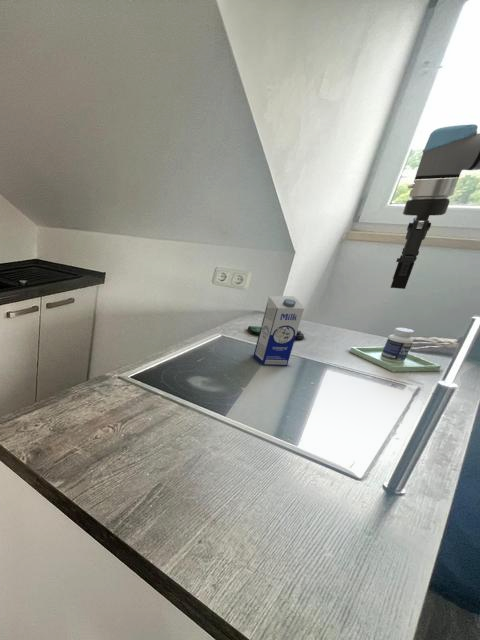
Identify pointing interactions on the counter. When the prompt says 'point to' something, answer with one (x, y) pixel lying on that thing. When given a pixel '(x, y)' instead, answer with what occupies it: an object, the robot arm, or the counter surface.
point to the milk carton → (278, 330)
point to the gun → (256, 330)
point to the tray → (408, 365)
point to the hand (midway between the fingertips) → (398, 283)
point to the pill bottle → (398, 345)
